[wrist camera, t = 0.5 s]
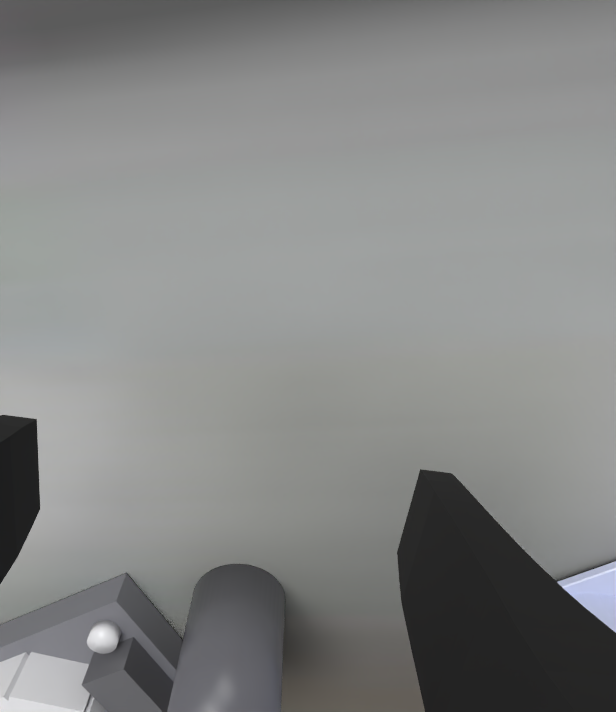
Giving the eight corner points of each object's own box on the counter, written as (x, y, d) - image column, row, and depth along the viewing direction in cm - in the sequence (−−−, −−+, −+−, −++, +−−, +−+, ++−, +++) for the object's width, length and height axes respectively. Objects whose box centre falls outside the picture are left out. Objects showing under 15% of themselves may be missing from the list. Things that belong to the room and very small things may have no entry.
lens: (301, 613, 26) (299, 792, 20) (222, 642, 27) (195, 824, 20) (257, 551, 25) (239, 721, 18) (175, 584, 25) (130, 759, 19)
